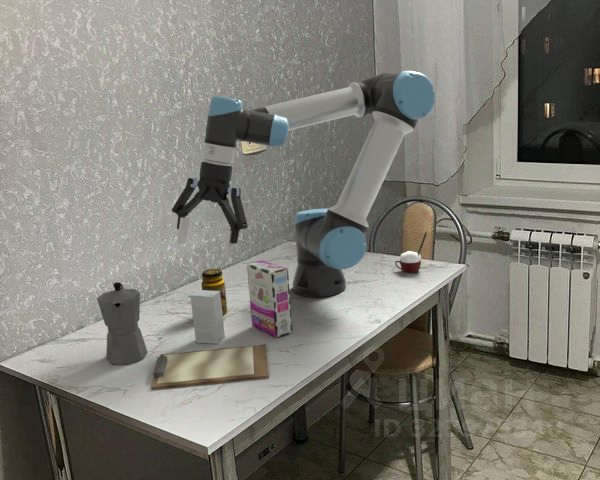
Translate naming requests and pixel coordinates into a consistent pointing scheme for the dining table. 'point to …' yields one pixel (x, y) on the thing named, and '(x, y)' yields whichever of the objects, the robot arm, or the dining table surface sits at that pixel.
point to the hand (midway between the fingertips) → (204, 249)
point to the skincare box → (207, 316)
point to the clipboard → (210, 366)
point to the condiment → (215, 286)
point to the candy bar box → (270, 298)
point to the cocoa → (411, 260)
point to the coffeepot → (122, 325)
